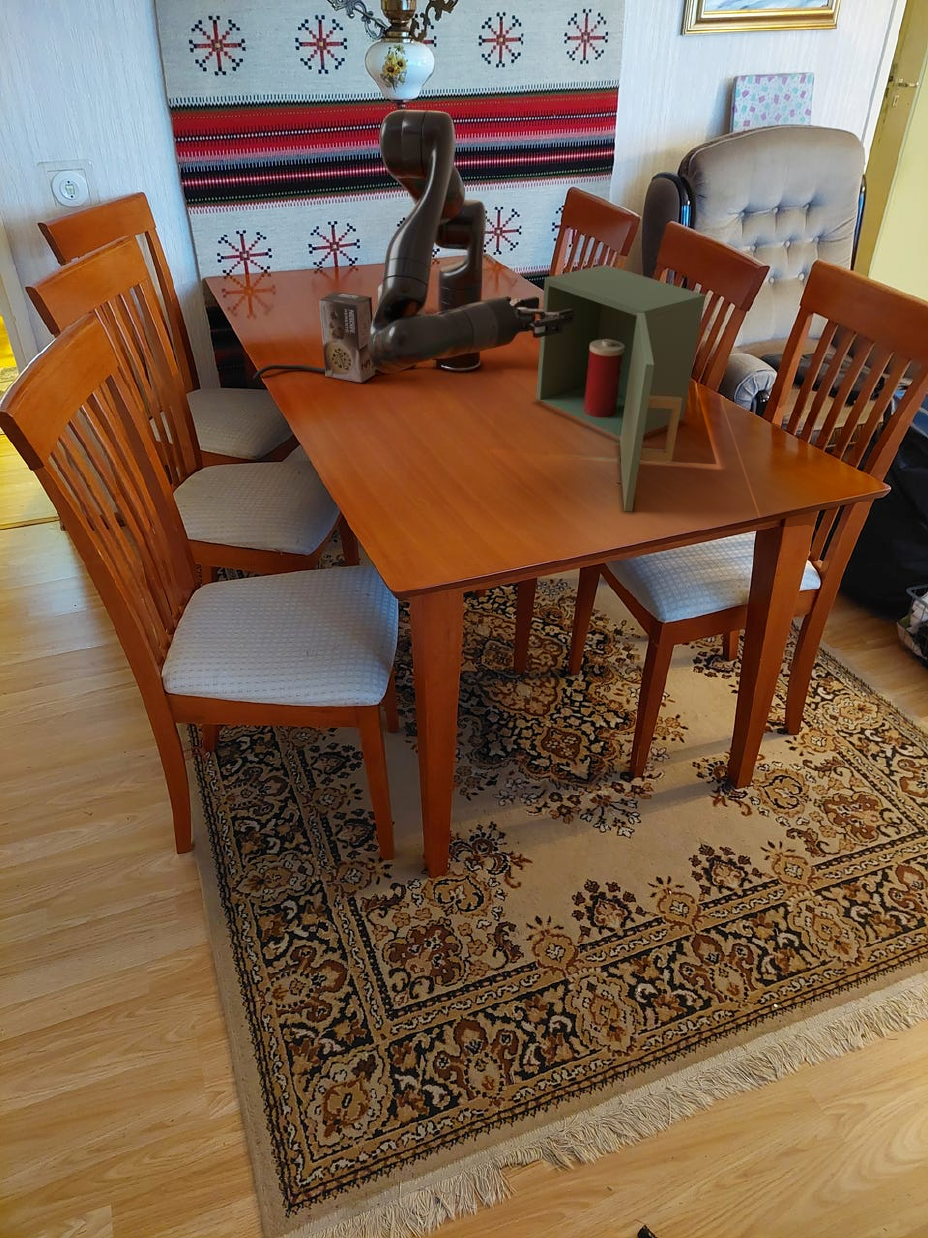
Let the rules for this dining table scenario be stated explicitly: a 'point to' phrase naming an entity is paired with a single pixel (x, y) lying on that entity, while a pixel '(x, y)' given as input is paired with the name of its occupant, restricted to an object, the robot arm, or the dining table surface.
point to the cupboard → (617, 338)
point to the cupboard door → (642, 414)
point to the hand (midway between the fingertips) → (554, 308)
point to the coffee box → (346, 336)
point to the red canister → (603, 377)
